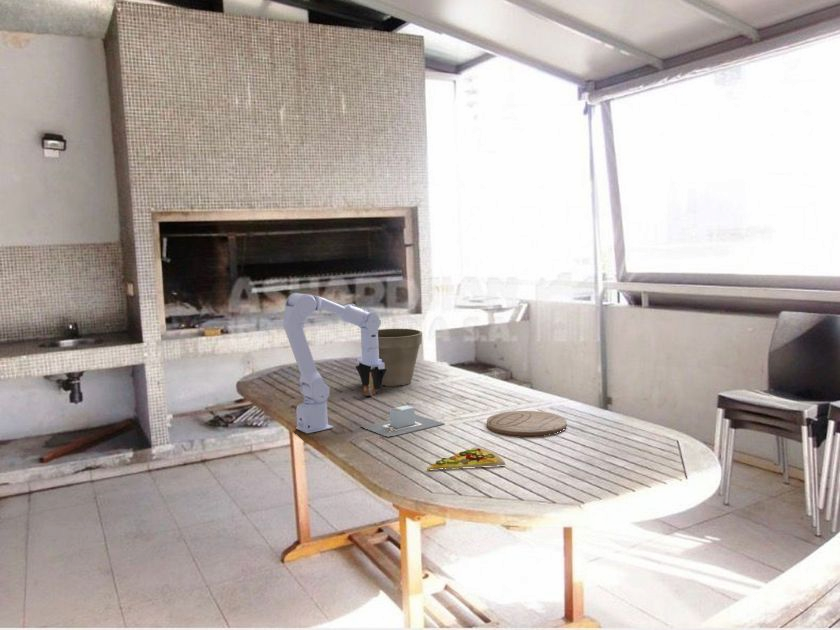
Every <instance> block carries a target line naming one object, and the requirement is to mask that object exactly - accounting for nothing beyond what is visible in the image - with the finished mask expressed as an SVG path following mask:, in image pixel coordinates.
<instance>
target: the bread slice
mask: <svg viewBox="0 0 840 630" xmlns="http://www.w3.org/2000/svg"><path fill="white" fill-rule="evenodd" d="M362 390H363V394H364V396H365V397H373V396H374V395H375V394H376V393H377V392H378V391H379V389H377V390H375V389H374V385H373V378H372V375H371V373H370V378H369V385H367V386H363V385H362ZM375 392H376V393H375ZM374 393H375V394H374ZM373 394H374V395H373ZM372 395H373V396H372Z"/></svg>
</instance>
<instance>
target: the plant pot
mask: <svg viewBox="0 0 840 630" xmlns="http://www.w3.org/2000/svg"><path fill="white" fill-rule="evenodd" d="M422 339H423V332H422V330H419V329H413V328H381V329H380V328H378V349H379V359H382V361H381V362H383V363H384V364H385V368H386V369H387V371H386V372H385V374H384V377H383V380H382V384H381V386H382V385H385V386H384V387H401V386H400V385H402V386H406V384H407V385H409V384H411V382H412V381H413V376H414V372H415V368H416V363H417V358H418V355H419V349H420V345H421V344H422V343H423V340H422ZM371 369H375V367H371ZM398 385H399V386H398Z"/></svg>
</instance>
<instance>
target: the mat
mask: <svg viewBox="0 0 840 630" xmlns="http://www.w3.org/2000/svg"><path fill="white" fill-rule="evenodd" d="M444 425H445V423H444V422H441V421H438V420H434V419H432V418H429V417H425V416H422V415H419V414H416V413H415V424H413V425H409V426H405V427H401V428H395V427H393V428H391V427H392V426H390V419H388V420H384V421H379V422H374V423H370V424H365V425H362V426H360V428H361V427H363V428H365V429H364V430H366V427H367V429H368V430H367V431H369V430H371V431H373V432H372V433H374V432H376V433H378V434H377V435H379V434H381V435H380V436H382V435H385V436H387V435H388V436H390V435H389V434H391V435H393V436H394V437H397V436H396V435H398V436H402V434H403V435H406V433H407V434H410V433H414V431H415V432H418V431H423V430H427V429H431V428H436V427H439V426H444ZM363 428H362V429H363ZM372 428H373V429H372ZM390 428H391V429H392V430H393V431H391V430H390ZM387 429H388V430H387ZM384 430H385V431H384ZM371 431H370V432H371ZM389 431H391V433H390V432H389ZM376 433H375V434H376ZM388 436H387V437H388ZM387 437H386V438H387Z"/></svg>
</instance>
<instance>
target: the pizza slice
mask: <svg viewBox="0 0 840 630" xmlns="http://www.w3.org/2000/svg"><path fill="white" fill-rule="evenodd" d="M497 465H505V466H506V462H505V460H504V458H502V457H501V456H500V455H499V454H497V453H495V452H494V451H491V450H489V449H486V448H482V447H478V446H474V447H471V449H466V450H463V451H460V452H457V453H456V454H454V455H452V456H451V455H450V457H443V458H441V459H440V460H436V461H435V463H433V464H431V466H430V465H429V466H428V467H427V468H426V471H427V470H430V469H439V468H443V469H445V468H446V469H452V468H463V467H482V466H497Z"/></svg>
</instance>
